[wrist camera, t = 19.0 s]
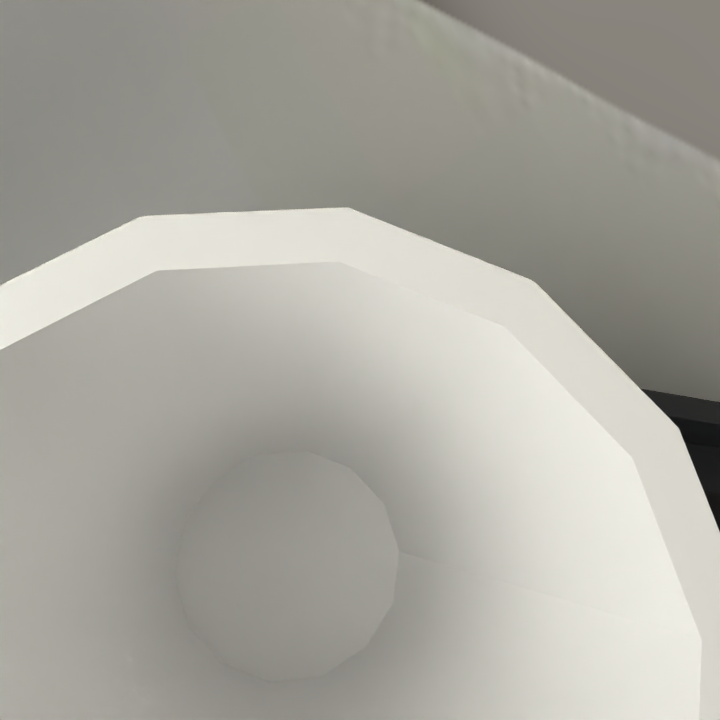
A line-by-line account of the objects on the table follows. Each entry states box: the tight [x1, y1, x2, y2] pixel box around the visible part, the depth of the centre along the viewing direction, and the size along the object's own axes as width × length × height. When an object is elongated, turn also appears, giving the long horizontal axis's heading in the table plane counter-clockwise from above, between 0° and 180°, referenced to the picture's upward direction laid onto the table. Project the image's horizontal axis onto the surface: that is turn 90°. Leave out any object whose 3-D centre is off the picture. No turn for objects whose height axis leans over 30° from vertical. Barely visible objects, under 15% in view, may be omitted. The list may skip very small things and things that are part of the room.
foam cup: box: [0, 207, 720, 720], centre depth 13 cm, size 10×9×13 cm
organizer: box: [641, 389, 720, 493], centre depth 18 cm, size 22×11×4 cm, turn 81°
